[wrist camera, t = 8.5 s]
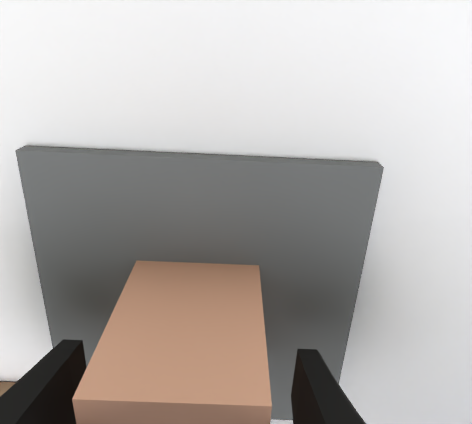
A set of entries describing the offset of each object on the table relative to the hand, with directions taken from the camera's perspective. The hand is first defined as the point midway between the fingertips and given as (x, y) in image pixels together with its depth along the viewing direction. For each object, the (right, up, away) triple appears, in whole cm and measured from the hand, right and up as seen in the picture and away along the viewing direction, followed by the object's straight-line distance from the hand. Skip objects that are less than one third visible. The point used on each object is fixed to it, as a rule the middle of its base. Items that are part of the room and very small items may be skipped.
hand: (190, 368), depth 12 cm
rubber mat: (0, +1, +3) cm, 4 cm away
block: (0, +1, +3) cm, 3 cm away
